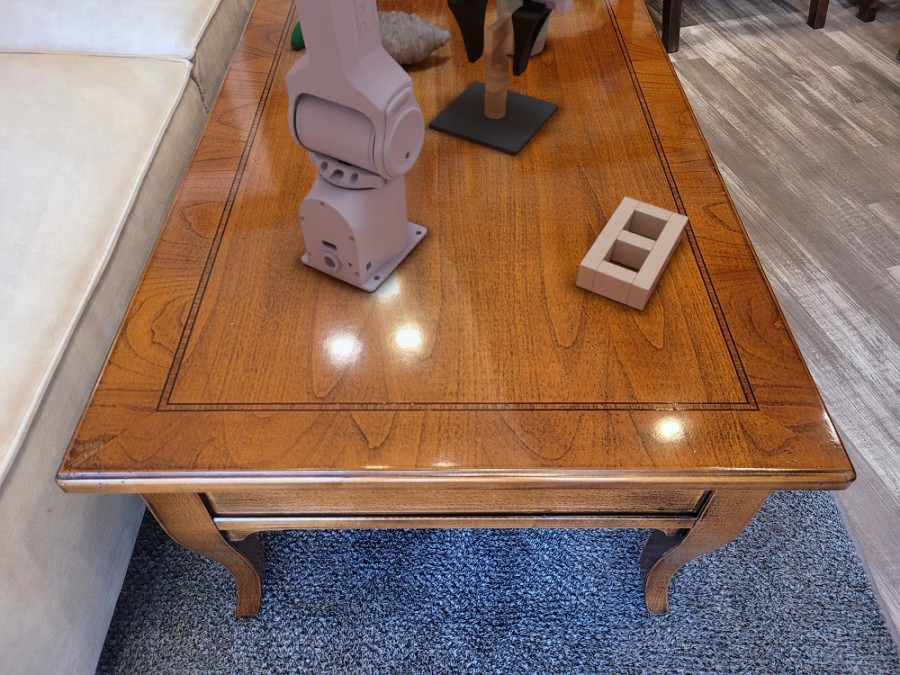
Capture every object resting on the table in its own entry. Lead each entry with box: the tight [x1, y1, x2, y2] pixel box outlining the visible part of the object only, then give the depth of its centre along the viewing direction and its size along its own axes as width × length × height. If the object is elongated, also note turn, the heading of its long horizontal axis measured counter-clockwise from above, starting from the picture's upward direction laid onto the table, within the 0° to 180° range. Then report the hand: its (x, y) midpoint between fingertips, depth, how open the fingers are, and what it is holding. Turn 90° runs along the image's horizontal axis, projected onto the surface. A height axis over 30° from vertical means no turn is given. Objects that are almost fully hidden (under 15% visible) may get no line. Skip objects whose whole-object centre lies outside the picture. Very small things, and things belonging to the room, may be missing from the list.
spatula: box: [483, 12, 513, 119], centre depth 73 cm, size 5×2×10 cm, turn 150°
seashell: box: [377, 10, 452, 66], centre depth 84 cm, size 6×14×8 cm, turn 99°
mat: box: [428, 80, 559, 156], centre depth 78 cm, size 11×11×1 cm
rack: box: [575, 196, 689, 311], centre depth 61 cm, size 6×11×3 cm, turn 150°
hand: (497, 65), depth 73 cm, fingers open, 5 cm apart
